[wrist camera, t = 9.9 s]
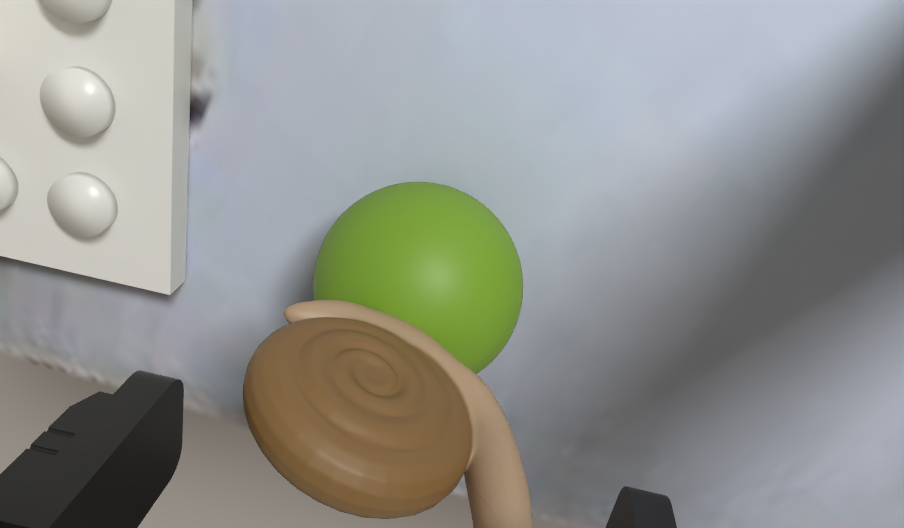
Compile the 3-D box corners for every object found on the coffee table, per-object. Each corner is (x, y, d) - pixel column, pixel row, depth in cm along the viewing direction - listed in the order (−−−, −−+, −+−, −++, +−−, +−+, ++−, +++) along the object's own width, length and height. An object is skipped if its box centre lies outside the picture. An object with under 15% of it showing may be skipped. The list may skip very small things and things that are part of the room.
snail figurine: (497, 366, 22) (458, 777, 11) (316, 273, 21) (87, 616, 10) (589, 230, 20) (653, 582, 9) (390, 121, 19) (194, 360, 8)
